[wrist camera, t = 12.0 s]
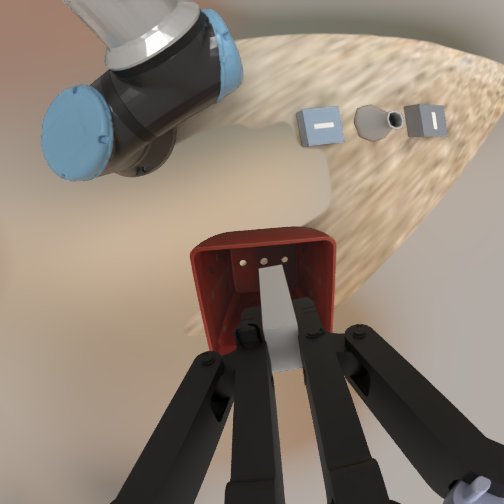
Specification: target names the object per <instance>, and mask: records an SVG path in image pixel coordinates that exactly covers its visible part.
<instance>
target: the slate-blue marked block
mask: <svg viewBox="0 0 504 504" xmlns="http://www.w3.org/2000/svg"><path fill="white" fill-rule="evenodd" d="M296 115H297V120H298V126H299V131H300V137H301V142H302V146H314V145H322V144H330V143H339V142H345V141H344V135H343V129H342V123H341V118H340V112H339V107H338V106H333V107H322V108H311V109H302V110H301V111H299V112H298V113H297V114H296Z"/></svg>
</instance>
